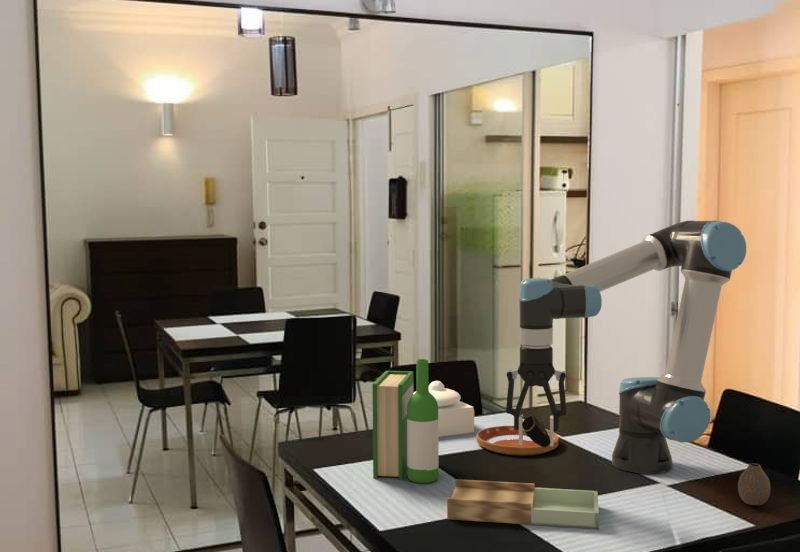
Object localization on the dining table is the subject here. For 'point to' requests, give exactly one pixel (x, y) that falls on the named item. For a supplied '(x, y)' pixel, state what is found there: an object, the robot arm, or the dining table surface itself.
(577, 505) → the tray
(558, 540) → the dining table surface
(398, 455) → the hardback book
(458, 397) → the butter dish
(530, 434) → the tape measure
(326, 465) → the dining table surface
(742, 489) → the vase
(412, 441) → the wine bottle
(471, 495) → the wooden tray
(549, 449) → the saucer
